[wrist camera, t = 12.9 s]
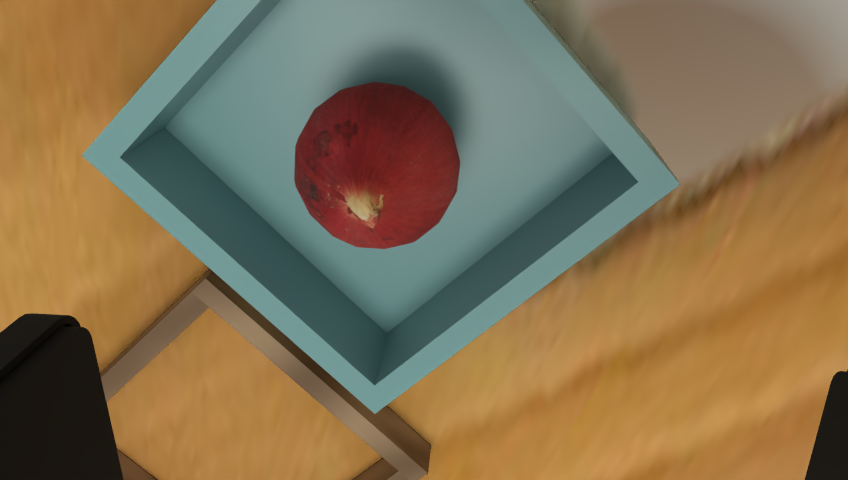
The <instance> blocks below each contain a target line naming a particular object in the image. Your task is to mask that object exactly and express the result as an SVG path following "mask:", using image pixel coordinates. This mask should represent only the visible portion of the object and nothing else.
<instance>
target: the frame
mask: <svg viewBox="0 0 848 480" xmlns="http://www.w3.org/2000/svg"><path fill="white" fill-rule="evenodd" d="M208 307H209V308H211V309H212V310H213V311H214V312H215V313H216V314H217V315H219V316H220V317H221V318H222V319H223V320H224V321H226V322H227V323H228V324H229V325H230V326H231V327H233V328H234V329H235V330H236V331H237V332H238V333H239V334H241V335H242V336H243V337H244V338H245V339H246V340H248V341H249V342H250V343H251V344H252V345H253V346H255V347H256V348H257V349H258V350H259V351H260V352H261V353H263V354H264V355H265V356H266V357H267V358H268V359H270V360H271V361H272V362H273V363H274V364H275V365H276V366H278V367H279V368H280V369H281V370H282V371H283V372H285V373H286V374H287V375H288V376H289V377H290V378H292V379H293V380H294V381H295V382H296V383H297V384H298V385H300V386H301V387H302V388H303V389H304V390H305V391H307V392H308V393H309V394H310V395H311V396H312V397H313V398H315V399H316V400H317V401H318V402H319V403H320V404H322V405H323V406H324V407H325V408H326V409H327V410H329V411H330V412H331V413H332V414H333V415H334V416H335V417H337V418H338V419H339V420H340V421H341V422H342V423H344V424H345V425H346V426H347V427H348V428H349V429H350V430H352V431H353V432H354V433H355V434H356V435H357V436H359V437H360V438H361V439H362V440H363V441H364V442H366V443H367V444H368V445H369V446H370V447H371V448H372V449H374V450H375V451H376V452H377V453H378V454H379V455H381V456H382V457H383V458H382V459H381V460H379V461H378V462H377V463H375V464H374V465H373V466H371V467H370V468H368V469H367V470H366V471H364V472H363V473H361V474H360V475H359V476H357V477H356V478H354V479H353V480H419V479H420V478H422V477H423V476H425V475H426V474H428V468H429V459H430V449H431V445H430V444H429V443H427V442H426V441H425V440H424V439H423V438H422V437H421V436H420V435H419V434H417V433H416V432H415V431H414V430H413V429H412V428H411V427H410V426H408V425H407V424H406V423H405V422H404V421H403V420H402V419H401V418H399V417H398V416H397V415H396V414H395V413H394V412H393V411H392V410H390V409H389V408H388V407H387V406H385V407H383V408H382V409H381V410H379V411H378V412H377V413H375V414H374V413H373V412H372V411H371V410H370V409H368V408H367V407H366V406H365V405H364V404H363V403H362V402H361V401H359V400H358V399H357V398H356V397H355V396H354V395H353V394H351V393H350V392H349V391H348V390H347V389H346V388H345V387H344V386H342V385H341V384H340V383H339V382H338V381H337V380H336V379H334V378H333V377H332V376H331V375H330V374H329V373H328V372H327V371H325V370H324V369H323V368H322V367H321V366H320V365H319V364H317V363H316V362H315V361H314V360H313V359H312V358H311V357H310V356H308V355H307V354H306V353H305V352H304V351H303V350H302V349H300V348H299V347H298V346H297V345H296V344H295V343H294V342H293V341H291V340H290V339H289V338H288V337H287V336H286V335H285V334H283V333H282V332H281V331H280V330H279V329H278V328H277V327H276V326H274V325H273V324H272V323H271V322H270V321H269V320H268V319H266V318H265V317H264V316H263V315H262V314H261V313H260V312H259V311H257V310H256V309H255V308H254V307H253V306H252V305H251V304H249V303H248V302H247V301H246V300H245V299H244V298H243V297H242V296H240V295H239V294H238V293H237V292H236V291H235V290H234V289H232V288H231V287H230V286H229V285H228V284H227V283H226V282H225V281H223V280H222V279H221V278H220V277H219V276H218V275H217V274H216V273H214V272H213V271H212V270H211V269H209V270H208V271H207V272H206V273H205V274H204V275H203V276H202V277H201V278H200V279H199V280H198V281H197V282H196V283H195V284H194V285H193V286H192V287H191V288H190V289H188V290H187V291H186V292H185V293H184V294H183V295H182V296H181V297H180V298H179V299H178V300H177V301H176V302H175V303H174V304H173V305H172V306H171V307H170V308H169V309H167V310H166V311H165V312H164V313H163V314H162V315H161V316H160V317H159V318H158V319H157V320H156V321H155V322H154V323H153V324H152V325H151V326H150V327H149V328H148V329H147V330H145V331H144V332H143V333H142V334H141V335H140V336H139V337H138V338H137V339H136V340H135V341H134V342H133V343H132V344H131V345H130V346H129V347H128V348H127V349H126V350H124V351H123V352H122V353H121V354H120V355H119V356H118V357H117V358H116V359H115V360H114V361H113V362H112V363H111V364H110V365H109V366H108V367H107V368H106V369H105V370H104V371H102V372H101V373H100V376H101V381H102V385H103V390H104V394H105V399H106V402H107V401H108V400H109V399H110V398H111V397H112V396H113V395H114V394H115V393H116V392H118V391H119V390H120V389H121V388H122V387H123V386H124V385H125V384H126V383H127V382H128V381H129V380H131V379H132V378H133V377H134V376H135V375H136V374H137V373H138V372H139V371H140V370H141V369H142V368H143V367H145V366H146V365H147V364H148V363H149V362H150V361H151V360H152V359H153V358H154V357H155V356H156V355H158V354H159V353H160V352H161V351H162V350H163V349H164V348H165V347H166V346H167V345H168V344H169V343H171V342H172V341H173V340H174V339H175V338H176V337H177V336H178V335H179V334H180V333H181V332H182V331H183V330H185V329H186V328H187V327H188V326H189V325H190V324H191V323H192V322H193V321H194V320H195V319H196V318H198V317H199V316H200V315H201V314H202V313H203V312H204V311H205V310H206V309H207V308H208ZM117 452H118V457H119V461H120V466H121V470H122V475H123V479H124V480H156V479H155V478H154V477H152V476H151V475H150V474H148V473H147V472H146V471H145V470H143V469H142V468H141V467H139V466H138V465H137V464H135V463H134V462H133V461H132V460H130V459H129V458H128V457H126V456H125V455H124V454H122V453H121V452H120V451H119V450H117Z"/></svg>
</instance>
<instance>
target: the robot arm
mask: <svg viewBox="0 0 848 480" xmlns="http://www.w3.org/2000/svg"><path fill="white" fill-rule="evenodd" d="M0 480H124V479H123V475H122V470H121V466H120V461H119V457H118V452H117V448H116V443H115V439H114V434H113V430H112V425H111V421H110V417H109V412H108V408H107V403H106V399H105V394H104V390H103V385H102V381H101V376H100V372H99V367H98V363H97V358H96V354H95V349H94V345H93V341H92V337H91V334H90V332H89V331H88V330H87V329H86V328H84V327H81V326H80V324H79V322H78V321H77V320H76V319H75V318H74V317H72V316H68V315H50V314H33V313H32V314H25V315H23V316H21V317H19V318H18V319H17V320H16V321H14V322H13V323H12V324H11V325H9V326H8V327H7V328H6V329H5V330H3V331H2V332H1V333H0ZM805 480H848V371H847V372H844V371H840V372H837V373H836V374H835V375H834V377H833V379H832V381H831V384H830V388H829V392H828V395H827V399H826V403H825V407H824V410H823V414H822V418H821V421H820V425H819V429H818V433H817V436H816V440H815V444H814V447H813V451H812V455H811V459H810V462H809V466H808V470H807V473H806V477H805Z"/></svg>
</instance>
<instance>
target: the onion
mask: <svg viewBox="0 0 848 480" xmlns="http://www.w3.org/2000/svg"><path fill="white" fill-rule="evenodd" d="M459 169H460V158H459V154H458V151H457V147H456V143H455V139H454V135H453V131H452V129H451V127H450V126H449V124H448V123H447V122H446V120H445V119H444V118H443V116H442V115H441V114H440V112H439V111H438V110H437V108H436V107H435V106H434V104H433V103H432V102H431V101H429V100H428V99H426V98H424V97H422V96H421V95H419V94H417V93H415V92H414V91H412V90H410V89H408V88H407V87H405V86H400V85H394V84H387V83H381V82H371V83H367V84H362V85H358V86H353V87H349V88H345V89H342V90H339V91H338V92H337V93H335V94H334V95H333V96H331V97H330V98H329V99H327V100H326V101H325V102H323V103H322V104H321V105H319V106H318V107H317V108H315V109H314V110H313V112H312V114H311V116H310V118H309V119H308V121H307V123H306V125H305V127H304V128H303V130H302V132H301V134H300V136H299V137H298V140H297V143H296V146H295V171H294V181H295V186H296V188H297V190H298V192H299V194H300V196H301V198H302V200H303V202H304V204H305V206H306V208H307V210H308V212H309V214H310V215H311V216H312V217H313V218H314V219H315V220H316V221H317V222H318V223H319V224H320V225H321V226H322V227H323V228H325V229H326V230H327V231H328V232H329V233H330V234H331V235H332V236H333V237H335V238H337V239H339V240H342V241H344V242H346V243H348V244H350V245H353V246H355V247H360V248H375V249H387V248H392V247H396V246H401V245H405V244H409V243H413V242H415V241H417V240H418V239H419V238H421V237H422V236H423V235H424V234H426V233H427V232H428V231H429V230H431V229H432V228H433V227H434V226H436V225H437V224H438V223H439V222H440V221H441V219H442V218H443V216H444V214H445V212H446V210H447V209H448V207H449V205H450V203H451V201H452V200H453V198H454V196H455V194H456V192H457V186H458V178H459Z"/></svg>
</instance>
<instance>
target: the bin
mask: <svg viewBox="0 0 848 480" xmlns="http://www.w3.org/2000/svg"><path fill="white" fill-rule="evenodd" d="M371 82H381V83H387V84H394V85H400V86H405V87H407V88H408V89H410V90H412V91H414V92H415V93H417V94H419V95H421V96H422V97H424V98H426V99H428V100H429V101H431V102H432V103H433V104H434V106H435V107H436V108H437V110H438V111H439V112H440V114H441V115H442V116H443V118H444V119H445V120H446V122H447V123H448V124H449V126H450V127H451V129H452V131H453V135H454V139H455V143H456V147H457V151H458V154H459V158H460V169H459V178H458V186H457V192H456V194H455V196H454V198H453V200H452V201H451V203H450V205H449V207H448V209H447V210H446V212H445V214H444V216H443V218H442V219H441V221H440V222H439V223H438V224H437V225H436V226H434V227H433V228H432V229H431V230H429V231H428V232H427V233H426V234H424V235H423V236H422V237H421V238H419V239H418V240H417V241H415V242H413V243H409V244H405V245H401V246H396V247H392V248H387V249H375V248H360V247H355V246H353V245H350V244H348V243H346V242H344V241H342V240H339V239H337V238H335V237H333V236H332V235H331V234H330V233H329V232H328V231H327V230H326V229H325V228H323V227H322V226H321V225H320V224H319V223H318V222H317V221H316V220H315V219H314V218H313V217H312V216H311V215H310V214H309V212H308V210H307V208H306V206H305V204H304V202H303V200H302V198H301V196H300V194H299V192H298V190H297V188H296V186H295V181H294V171H295V146H296V143H297V140H298V137H299V136H300V134H301V132H302V130H303V128H304V127H305V125H306V123H307V121H308V119H309V118H310V116H311V114H312V112H313V110H314V109H315V108H317V107H318V106H319V105H321V104H322V103H323V102H325V101H326V100H327V99H329V98H330V97H331V96H333V95H334V94H335V93H337V92H338V91H339V90H342V89H345V88H349V87H353V86H358V85H362V84H367V83H371ZM82 156H83V157H84V158H85V159H86V160H87V161H89V162H90V163H91V164H92V165H93V166H94V167H95V168H97V169H98V170H99V171H100V172H101V173H102V174H103V175H104V176H106V177H107V178H108V179H109V180H110V181H111V182H112V183H114V184H115V185H116V186H117V187H118V188H119V189H120V190H121V191H123V192H124V193H125V194H126V195H127V196H128V197H129V198H131V199H132V200H133V201H134V202H135V203H136V204H137V205H138V206H140V207H141V208H142V209H143V210H144V211H145V212H146V213H148V214H149V215H150V216H151V217H152V218H153V219H154V220H155V221H157V222H158V223H159V224H160V225H161V226H162V227H163V228H165V229H166V230H167V231H168V232H169V233H170V234H171V235H172V236H174V237H175V238H176V239H177V240H178V241H179V242H180V243H182V244H183V245H184V246H185V247H186V248H187V249H188V250H189V251H191V252H192V253H193V254H194V255H195V256H196V257H197V258H199V259H200V260H201V261H202V262H203V263H204V264H205V265H206V266H208V267H209V268H210V269H211V270H212V271H213V272H214V273H216V274H217V275H218V276H219V277H220V278H221V279H222V280H223V281H225V282H226V283H227V284H228V285H229V286H230V287H231V288H232V289H234V290H235V291H236V292H237V293H238V294H239V295H240V296H242V297H243V298H244V299H245V300H246V301H247V302H248V303H249V304H251V305H252V306H253V307H254V308H255V309H256V310H257V311H259V312H260V313H261V314H262V315H263V316H264V317H265V318H266V319H268V320H269V321H270V322H271V323H272V324H273V325H274V326H276V327H277V328H278V329H279V330H280V331H281V332H282V333H283V334H285V335H286V336H287V337H288V338H289V339H290V340H291V341H293V342H294V343H295V344H296V345H297V346H298V347H299V348H300V349H302V350H303V351H304V352H305V353H306V354H307V355H308V356H310V357H311V358H312V359H313V360H314V361H315V362H316V363H317V364H319V365H320V366H321V367H322V368H323V369H324V370H325V371H327V372H328V373H329V374H330V375H331V376H332V377H333V378H334V379H336V380H337V381H338V382H339V383H340V384H341V385H342V386H344V387H345V388H346V389H347V390H348V391H349V392H350V393H351V394H353V395H354V396H355V397H356V398H357V399H358V400H359V401H361V402H362V403H363V404H364V405H365V406H366V407H367V408H368V409H370V410H371V411H372V412H373V413H374V414H375V413H377V412H378V411H379V410H381V409H382V408H383V407H385V406H386V405H387V404H389V403H390V402H391V401H393V400H394V399H395V398H397V397H398V396H399V395H401V394H402V393H403V392H405V391H406V390H407V389H409V388H410V387H411V386H413V385H414V384H415V383H417V382H418V381H419V380H421V379H422V378H423V377H425V376H426V375H427V374H429V373H430V372H431V371H433V370H434V369H435V368H437V367H438V366H439V365H441V364H442V363H443V362H445V361H446V360H447V359H449V358H450V357H451V356H453V355H454V354H455V353H457V352H458V351H459V350H461V349H462V348H463V347H465V346H466V345H467V344H469V343H470V342H471V341H473V340H474V339H475V338H476V337H478V336H479V335H480V334H482V333H483V332H484V331H486V330H487V329H488V328H490V327H491V326H492V325H494V324H495V323H496V322H498V321H499V320H500V319H502V318H503V317H504V316H506V315H507V314H508V313H510V312H511V311H512V310H514V309H515V308H516V307H518V306H519V305H520V304H522V303H523V302H524V301H526V300H527V299H528V298H530V297H531V296H532V295H534V294H535V293H536V292H538V291H539V290H540V289H542V288H543V287H544V286H546V285H547V284H548V283H550V282H551V281H552V280H554V279H555V278H556V277H558V276H559V275H560V274H562V273H563V272H564V271H566V270H567V269H568V268H570V267H571V266H572V265H574V264H575V263H576V262H578V261H579V260H580V259H582V258H583V257H584V256H586V255H587V254H588V253H590V252H591V251H592V250H594V249H595V248H596V247H597V246H599V245H600V244H601V243H603V242H604V241H605V240H607V239H608V238H609V237H611V236H612V235H613V234H615V233H616V232H617V231H619V230H620V229H621V228H623V227H624V226H625V225H627V224H628V223H629V222H631V221H632V220H633V219H635V218H636V217H637V216H639V215H640V214H641V213H643V212H644V211H645V210H647V209H648V208H649V207H651V206H652V205H653V204H655V203H656V202H657V201H659V200H660V199H661V198H663V197H664V196H665V195H667V194H668V193H669V192H671V191H672V190H673V189H675V188H676V187H677V186H679V185H680V183H679V181H678V180H677V179H676V177H675V176H674V174H673V173H672V172H671V170H670V169H669V168H668V166H667V165H666V163H665V162H664V160H663V159H662V158H661V156H660V155H659V153H658V152H657V151H656V149H655V148H654V146H653V145H652V144H651V142H650V141H649V140H648V139H647V138H646V136H645V135H644V134H643V133H642V132H641V131H640V129H639V128H638V127H637V126H636V125H635V124H634V122H633V121H632V120H631V119H630V118H629V117H628V115H627V114H626V113H625V112H624V111H623V109H622V108H621V107H620V106H619V105H618V104H617V102H616V101H615V100H614V99H613V98H612V97H611V95H610V94H609V93H608V92H607V91H606V90H605V88H604V87H603V86H602V85H601V84H600V83H599V81H598V80H597V79H596V78H595V77H594V76H593V74H592V73H591V72H590V71H589V70H588V69H587V67H586V66H585V65H584V64H583V63H582V61H581V60H580V59H579V58H578V57H577V56H576V54H575V53H574V52H573V51H572V50H571V49H570V47H569V46H568V45H567V44H566V43H565V42H564V40H563V39H562V38H561V37H560V36H559V35H558V33H557V32H556V31H555V30H554V29H553V28H552V26H551V25H550V24H549V23H548V22H547V20H546V19H545V18H544V17H543V16H542V15H541V13H540V12H539V11H538V10H537V9H536V8H535V6H534V5H533V4H532V3H531V2H530V1H529V0H217V1H216V2H215V3H214V4H213V5H212V6H211V7H210V9H209V10H208V11H207V12H206V13H205V14H204V16H203V17H202V18H201V19H200V20H199V21H198V22H197V24H196V25H195V26H194V27H193V28H192V29H191V30H190V32H189V33H188V34H187V35H186V36H185V37H184V38H183V40H182V41H181V42H180V43H179V44H178V45H177V47H176V48H175V49H174V50H173V51H172V52H171V53H170V55H169V56H168V57H167V58H166V59H165V60H164V61H163V63H162V64H161V65H160V66H159V67H158V68H157V70H156V71H155V72H154V73H153V74H152V75H151V76H150V78H149V79H148V80H147V81H146V82H145V83H144V84H143V86H142V87H141V88H140V89H139V90H138V91H137V92H136V94H135V95H134V96H133V97H132V98H131V99H130V101H129V102H128V103H127V104H126V105H125V106H124V107H123V109H122V110H121V111H120V112H119V113H118V114H117V115H116V117H115V118H114V119H113V120H112V121H111V122H110V123H109V125H108V126H107V127H106V128H105V129H104V130H103V132H102V133H101V134H100V135H99V136H98V137H97V138H96V140H95V141H94V142H93V143H92V144H91V145H90V146H89V148H88V149H87V150H86V151H85V152H84V153H83V154H82Z"/></svg>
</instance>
